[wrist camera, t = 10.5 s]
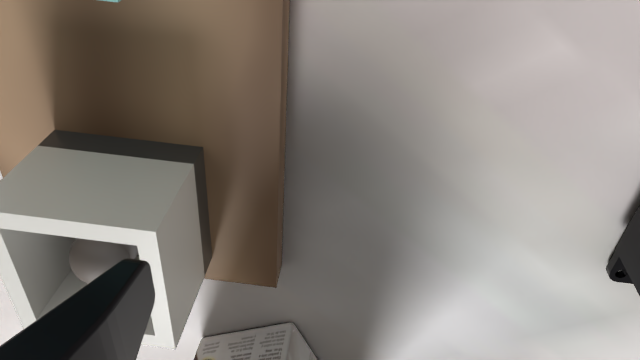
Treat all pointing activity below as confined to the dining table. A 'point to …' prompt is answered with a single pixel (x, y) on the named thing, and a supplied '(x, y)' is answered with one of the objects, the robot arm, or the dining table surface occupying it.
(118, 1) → the teal sleeve
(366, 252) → the dining table surface
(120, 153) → the grey sleeve
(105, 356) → the robot arm
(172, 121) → the pin board
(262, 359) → the coffee box
